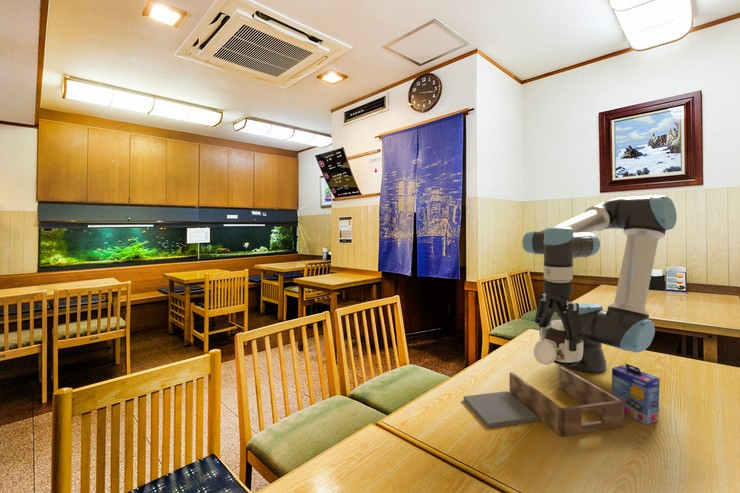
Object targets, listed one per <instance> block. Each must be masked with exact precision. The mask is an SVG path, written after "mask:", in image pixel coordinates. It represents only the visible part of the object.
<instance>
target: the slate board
mask: <svg viewBox="0 0 740 493" xmlns="http://www.w3.org/2000/svg"><path fill="white" fill-rule="evenodd" d="M463 401H464V402H465V403H466V405H467V406H468V407H469V409H471V410H472V411H473V413H475V415H477V416H478V418H479V419H480V420H481V421H482V422H483V423H484V425H485V426H486V427H487V428H488V429H489V428H498V427H505V426H509V425H510V426H511V425H519V424H526V423H532V422H538V421H539V418H538V416H537V415H536V414H535V413H533V412H532V411H531V410H530V409H528V408H527V407H526V406H525V405H524V404H522V403H521V402H520V401H519V400H518V399H516V398H515V397H514V396H513V395H512V394H510V393H509V390H508V391H507V390H506V391H498V392H488V393H480V394H473V395H472V394H471V395H464V396H463Z"/></svg>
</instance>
